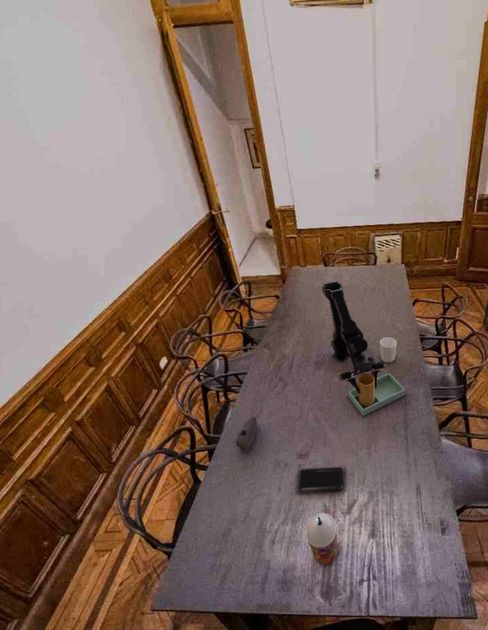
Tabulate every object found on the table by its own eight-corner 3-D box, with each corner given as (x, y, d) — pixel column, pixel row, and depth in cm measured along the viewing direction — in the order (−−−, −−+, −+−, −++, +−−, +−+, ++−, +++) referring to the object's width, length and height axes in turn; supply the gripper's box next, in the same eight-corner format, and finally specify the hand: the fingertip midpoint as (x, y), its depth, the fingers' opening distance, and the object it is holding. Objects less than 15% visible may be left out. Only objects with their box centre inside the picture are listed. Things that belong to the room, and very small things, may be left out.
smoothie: (323, 530, 104) (316, 495, 93) (345, 547, 100) (341, 513, 88) (305, 556, 98) (295, 522, 87) (328, 576, 94) (321, 543, 83)
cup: (355, 398, 146) (354, 378, 139) (368, 391, 149) (368, 371, 142) (364, 408, 141) (364, 388, 135) (377, 401, 144) (377, 380, 138)
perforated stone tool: (250, 422, 139) (247, 410, 135) (263, 423, 138) (259, 412, 134) (235, 455, 126) (230, 443, 123) (248, 456, 126) (244, 445, 122)
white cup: (395, 364, 164) (395, 348, 159) (378, 362, 166) (378, 346, 160) (396, 353, 170) (397, 338, 165) (381, 352, 172) (381, 336, 166)
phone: (342, 489, 113) (297, 490, 113) (342, 490, 114) (298, 492, 114) (342, 466, 120) (300, 468, 120) (343, 468, 120) (300, 470, 120)
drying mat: (363, 410, 141) (363, 410, 141) (354, 398, 147) (353, 397, 147) (379, 402, 144) (379, 402, 144) (369, 390, 150) (369, 390, 150)
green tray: (363, 416, 139) (362, 410, 137) (348, 397, 148) (347, 391, 146) (405, 395, 148) (405, 389, 146) (388, 378, 157) (388, 372, 155)
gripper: (339, 359, 133) (350, 398, 130) (382, 346, 138) (394, 384, 136) (334, 361, 143) (345, 398, 141) (375, 350, 149) (385, 385, 146)
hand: (367, 391), depth 141 cm, fingers closed on cup, 7 cm apart
